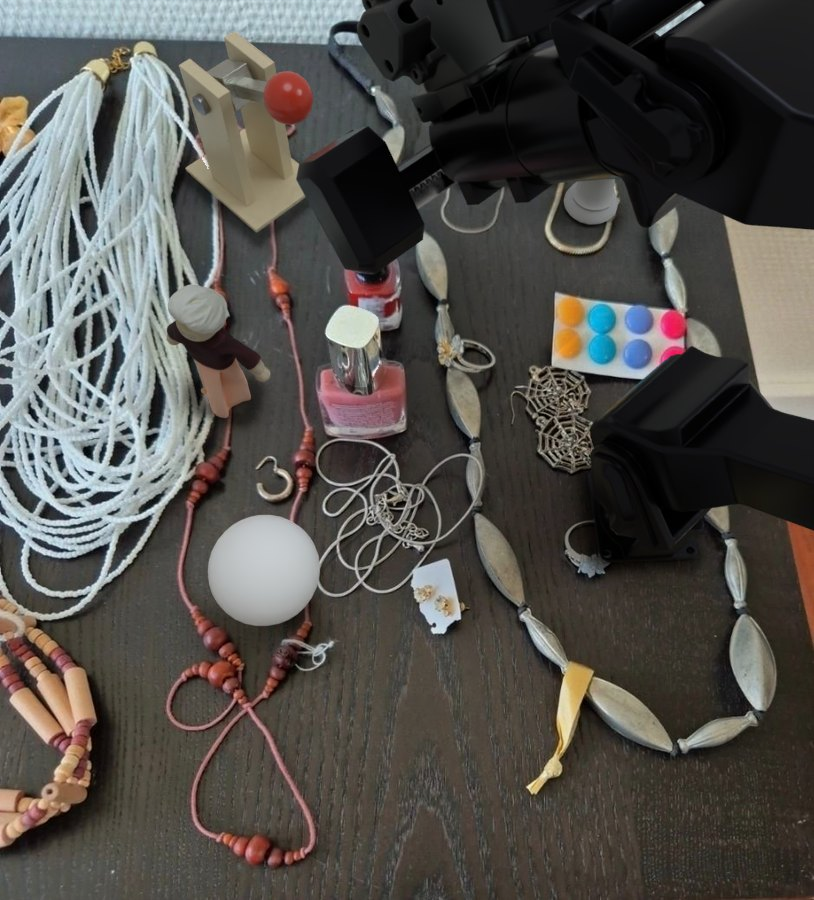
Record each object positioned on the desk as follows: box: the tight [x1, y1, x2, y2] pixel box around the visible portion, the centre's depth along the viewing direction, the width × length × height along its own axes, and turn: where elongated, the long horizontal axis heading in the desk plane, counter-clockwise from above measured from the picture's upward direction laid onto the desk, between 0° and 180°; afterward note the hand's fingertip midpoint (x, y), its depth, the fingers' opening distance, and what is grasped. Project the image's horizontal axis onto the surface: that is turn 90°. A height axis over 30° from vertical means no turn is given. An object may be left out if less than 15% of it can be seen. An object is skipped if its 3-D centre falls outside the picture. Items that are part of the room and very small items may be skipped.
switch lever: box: [206, 58, 314, 126], centre depth 54 cm, size 10×3×3 cm, turn 44°
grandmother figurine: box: [166, 283, 271, 419], centre depth 51 cm, size 8×4×13 cm, turn 76°
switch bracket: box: [178, 30, 306, 233], centre depth 60 cm, size 9×7×12 cm
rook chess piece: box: [563, 179, 619, 226], centre depth 60 cm, size 4×4×8 cm
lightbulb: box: [207, 514, 321, 627], centre depth 46 cm, size 6×6×11 cm
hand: (390, 146), depth 48 cm, fingers open, 9 cm apart
